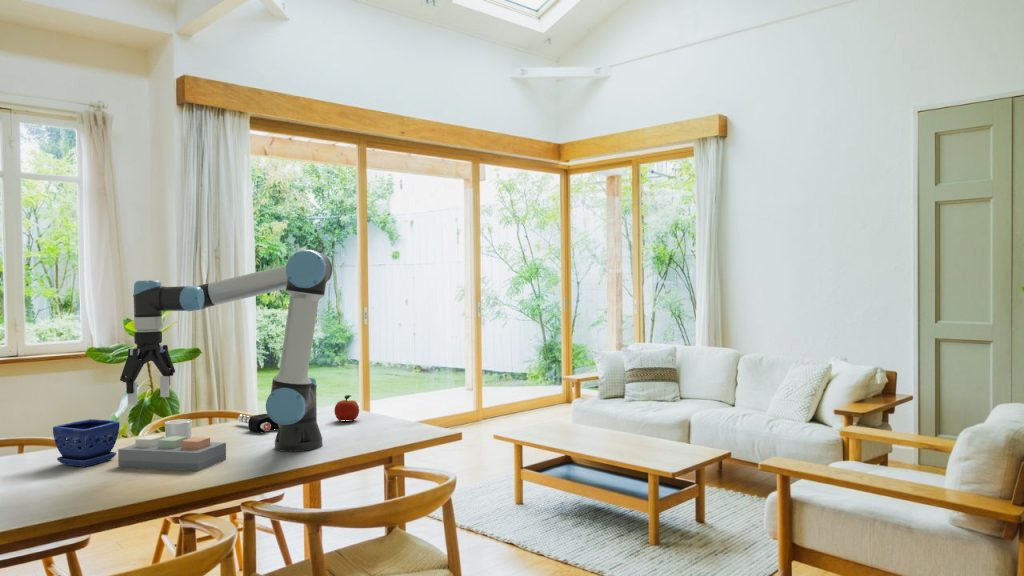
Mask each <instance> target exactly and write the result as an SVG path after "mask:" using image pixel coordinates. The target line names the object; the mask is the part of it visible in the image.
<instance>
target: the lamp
mask: <svg viewBox="0 0 1024 576" xmlns="http://www.w3.org/2000/svg"><path fill="white" fill-rule="evenodd" d="M237 420H238V422H240V423H244V424H247V425H248V430H249V431H251V432H256V433H260V434H262V433H261V432H264V433H267V432H266V431H269V432H271V431H270V430H274V429H279V426H280V424H278V423H276V422H274V421H273V420H272V419H270V417H269V416H268V414H267V413H261V414H255V415H251V416H250V415H246V414H245V415H244V414H240V415H238V416H237ZM274 431H275V430H274Z"/></svg>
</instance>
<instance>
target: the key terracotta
mask: <svg viewBox="0 0 1024 576" xmlns="http://www.w3.org/2000/svg"><path fill="white" fill-rule="evenodd" d="M210 442H211V437H206V436H205V437H204V436H202V437H199V436H193V437H191V438H190V439H187V440H183V441H182V449H191V450H199V449H202V448H205V447H208V446H210Z"/></svg>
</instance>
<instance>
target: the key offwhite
mask: <svg viewBox="0 0 1024 576" xmlns="http://www.w3.org/2000/svg"><path fill="white" fill-rule="evenodd" d="M164 438H165V436H164V435H152V434H150V435H145V436H141V437H138V438H135V444H136V447H144V448H152V447H156V446H159V440H160V439H164Z"/></svg>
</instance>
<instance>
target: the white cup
mask: <svg viewBox="0 0 1024 576" xmlns="http://www.w3.org/2000/svg"><path fill="white" fill-rule="evenodd" d="M192 424H193V421H192V419H190V418H181V419H180V418H179V419H172V420H168V421H167V420H166V421H164V432H165V433H164V434H165V436H164V437H165V438H167V437H170V436H181V437H187V439H190V438H192V431H193V430H192V428H193V427H192Z"/></svg>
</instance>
